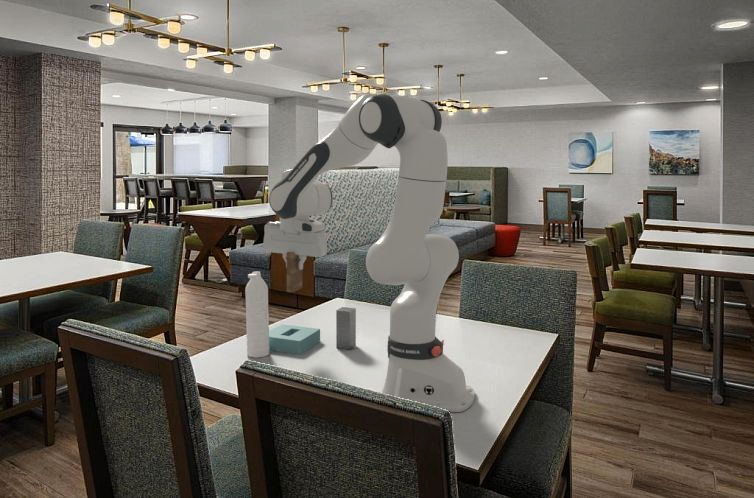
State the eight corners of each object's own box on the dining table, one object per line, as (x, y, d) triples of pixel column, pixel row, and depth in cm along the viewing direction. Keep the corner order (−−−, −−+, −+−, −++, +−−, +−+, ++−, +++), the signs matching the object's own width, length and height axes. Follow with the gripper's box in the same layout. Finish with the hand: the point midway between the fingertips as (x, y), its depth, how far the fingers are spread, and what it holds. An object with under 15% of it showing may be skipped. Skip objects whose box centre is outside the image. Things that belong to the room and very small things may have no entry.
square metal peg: (355, 345, 168) (355, 308, 166) (349, 350, 164) (349, 311, 162) (342, 343, 169) (342, 306, 167) (336, 348, 165) (336, 310, 163)
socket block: (320, 341, 172) (320, 329, 171) (300, 354, 160) (300, 341, 159) (282, 335, 177) (281, 324, 176) (259, 348, 165) (259, 335, 164)
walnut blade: (302, 288, 166) (302, 250, 164) (292, 292, 161) (292, 253, 159) (296, 287, 167) (296, 249, 165) (286, 291, 162) (286, 252, 159)
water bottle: (250, 350, 163) (247, 269, 159) (271, 350, 162) (269, 269, 159) (242, 360, 154) (239, 275, 150) (265, 361, 154) (262, 275, 150)
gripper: (258, 222, 161) (259, 267, 164) (319, 227, 154) (319, 274, 156) (270, 220, 167) (270, 263, 169) (329, 224, 160) (329, 270, 162)
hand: (294, 268), depth 163 cm, fingers closed on walnut blade, 2 cm apart
